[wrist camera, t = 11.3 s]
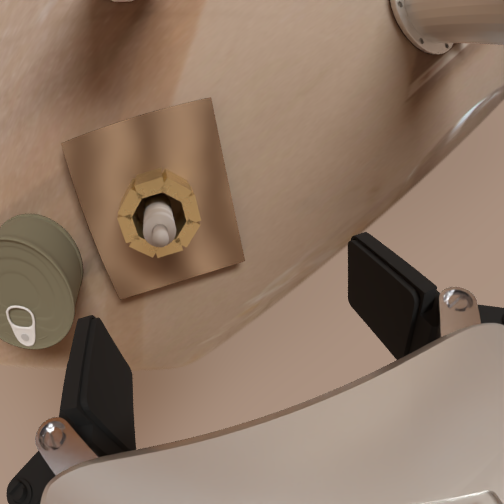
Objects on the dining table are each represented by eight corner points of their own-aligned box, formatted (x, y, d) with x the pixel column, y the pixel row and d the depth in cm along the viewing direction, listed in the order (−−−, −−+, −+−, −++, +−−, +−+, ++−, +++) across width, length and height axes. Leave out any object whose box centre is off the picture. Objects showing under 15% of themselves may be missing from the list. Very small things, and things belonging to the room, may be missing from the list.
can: (83, 213, 28) (68, 240, 22) (88, 313, 32) (81, 354, 27) (-16, 210, 24) (-46, 236, 18) (0, 306, 28) (-18, 343, 22)
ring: (183, 161, 27) (188, 169, 24) (199, 226, 31) (207, 243, 27) (114, 182, 26) (109, 193, 23) (135, 245, 29) (134, 265, 26)
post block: (207, 98, 27) (233, 94, 19) (241, 254, 35) (271, 303, 27) (65, 141, 24) (30, 157, 16) (120, 292, 33) (117, 351, 24)
